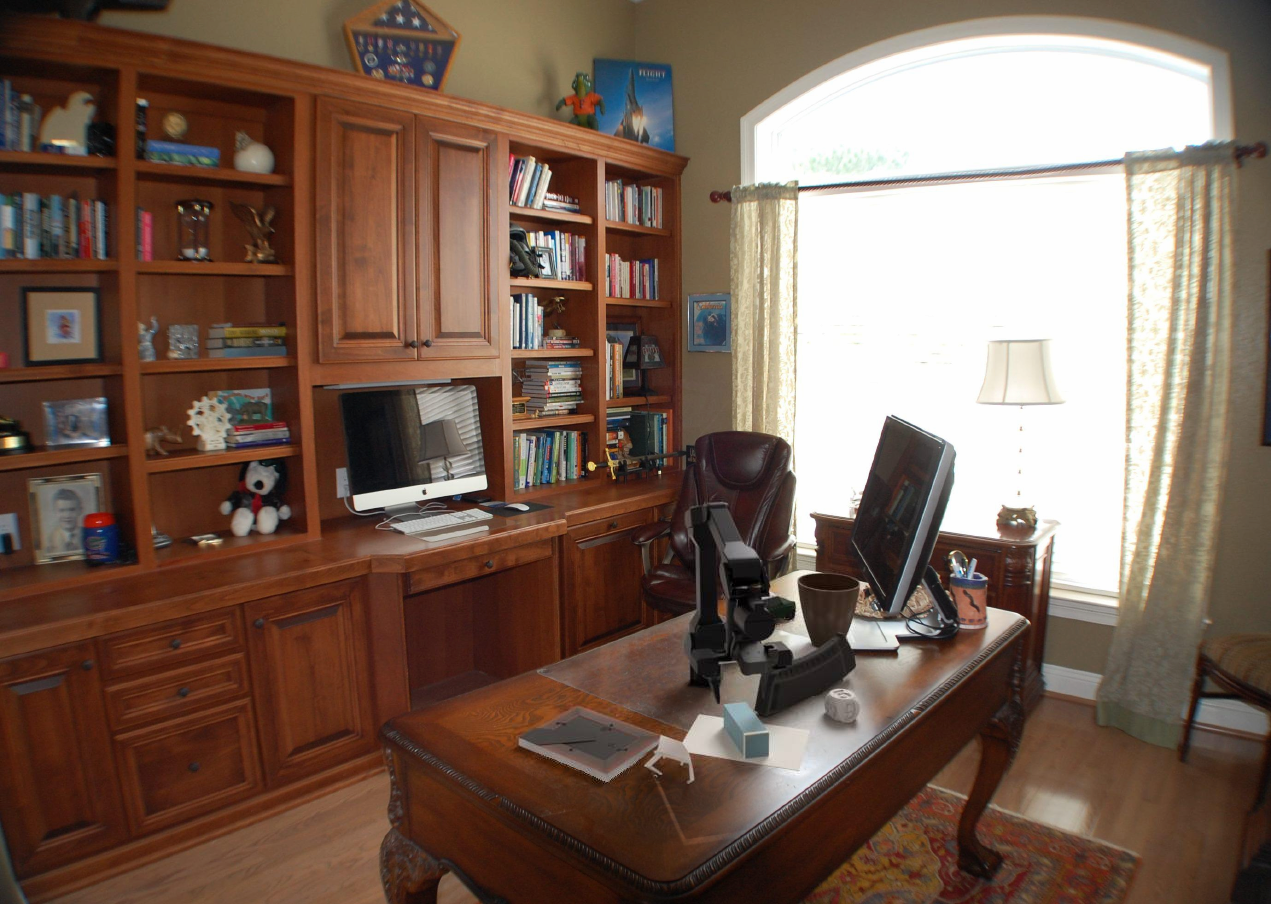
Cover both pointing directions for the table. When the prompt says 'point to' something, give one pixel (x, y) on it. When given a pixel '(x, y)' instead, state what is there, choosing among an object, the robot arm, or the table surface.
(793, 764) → the cream rectangular board
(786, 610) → the miniature car
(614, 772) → the picture frame
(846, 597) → the plant pot
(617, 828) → the table surface
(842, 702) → the die
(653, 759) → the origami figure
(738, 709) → the teal block
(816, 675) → the magazine
